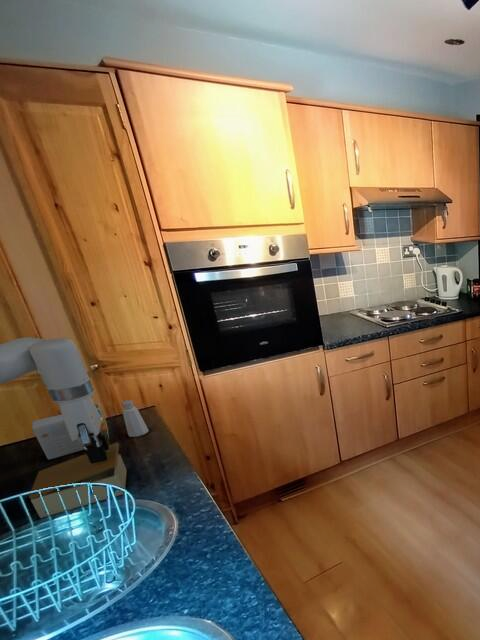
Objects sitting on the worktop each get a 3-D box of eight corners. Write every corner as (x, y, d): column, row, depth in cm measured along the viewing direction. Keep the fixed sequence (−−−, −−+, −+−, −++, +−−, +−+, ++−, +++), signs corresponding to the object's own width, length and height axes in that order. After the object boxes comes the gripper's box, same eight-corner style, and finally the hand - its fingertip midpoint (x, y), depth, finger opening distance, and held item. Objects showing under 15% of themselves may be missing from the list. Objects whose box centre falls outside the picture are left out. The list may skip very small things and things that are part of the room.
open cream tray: (126, 470, 123) (120, 454, 121) (124, 493, 114) (117, 476, 112) (49, 491, 115) (40, 474, 113) (40, 518, 106) (30, 500, 103)
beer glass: (89, 464, 126) (68, 417, 120) (85, 455, 130) (64, 409, 124) (121, 454, 131) (102, 408, 124) (115, 446, 135) (97, 401, 129)
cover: (119, 444, 120) (108, 429, 118) (116, 466, 111) (105, 450, 109) (40, 473, 113) (27, 458, 110) (30, 499, 103) (16, 483, 101)
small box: (83, 442, 136) (69, 412, 132) (84, 450, 133) (70, 418, 129) (46, 452, 131) (31, 421, 127) (47, 460, 128) (31, 428, 123)
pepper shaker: (151, 427, 145) (140, 396, 141) (146, 435, 141) (134, 403, 136) (130, 430, 143) (118, 399, 139) (125, 438, 139) (112, 406, 134)
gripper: (55, 383, 111) (84, 446, 118) (43, 408, 98) (76, 477, 105) (95, 375, 115) (121, 437, 122) (89, 399, 102) (117, 466, 109)
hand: (100, 455), depth 114 cm, fingers closed on cover, 5 cm apart
